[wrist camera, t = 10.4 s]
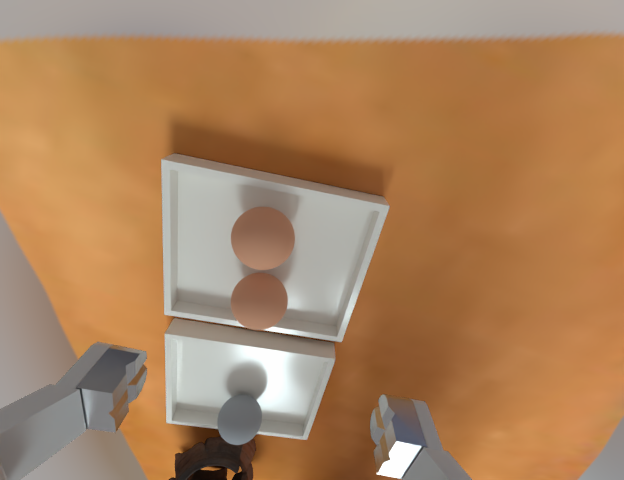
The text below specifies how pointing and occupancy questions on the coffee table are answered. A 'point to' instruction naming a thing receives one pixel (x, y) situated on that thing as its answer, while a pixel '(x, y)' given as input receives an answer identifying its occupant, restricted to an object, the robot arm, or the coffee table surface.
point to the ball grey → (239, 419)
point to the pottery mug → (215, 460)
